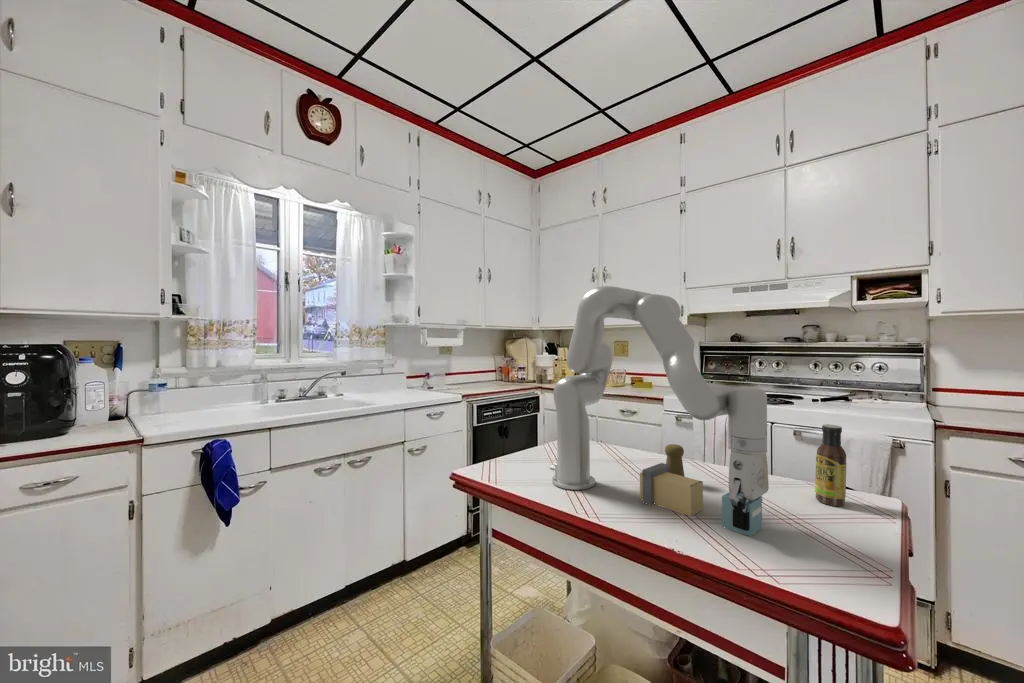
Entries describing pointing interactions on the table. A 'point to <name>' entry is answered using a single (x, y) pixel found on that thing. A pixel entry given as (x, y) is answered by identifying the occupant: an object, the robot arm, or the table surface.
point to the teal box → (753, 510)
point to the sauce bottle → (831, 468)
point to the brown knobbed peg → (675, 459)
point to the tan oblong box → (671, 490)
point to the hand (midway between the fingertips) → (747, 523)
